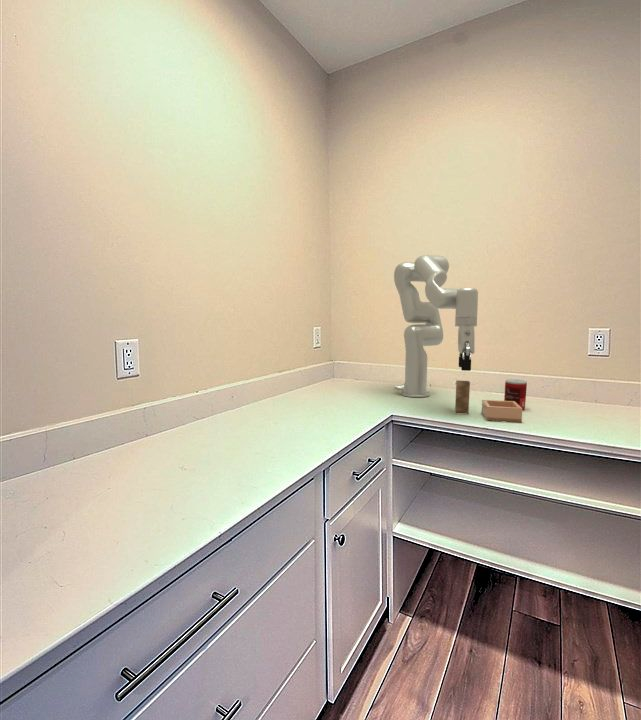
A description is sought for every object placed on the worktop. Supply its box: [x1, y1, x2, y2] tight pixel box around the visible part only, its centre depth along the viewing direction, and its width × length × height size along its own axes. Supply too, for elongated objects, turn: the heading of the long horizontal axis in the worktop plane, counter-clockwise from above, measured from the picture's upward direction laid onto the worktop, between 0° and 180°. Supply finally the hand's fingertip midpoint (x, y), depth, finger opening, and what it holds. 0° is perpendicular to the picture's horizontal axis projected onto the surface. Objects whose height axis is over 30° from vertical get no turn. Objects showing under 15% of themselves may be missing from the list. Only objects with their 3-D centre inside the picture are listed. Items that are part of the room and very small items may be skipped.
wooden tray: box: [481, 399, 523, 424], centre depth 152 cm, size 11×11×5 cm
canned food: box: [503, 378, 528, 411], centre depth 165 cm, size 8×8×11 cm
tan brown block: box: [454, 379, 471, 415], centre depth 158 cm, size 4×3×12 cm, turn 78°
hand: (464, 368), depth 156 cm, fingers open, 9 cm apart
